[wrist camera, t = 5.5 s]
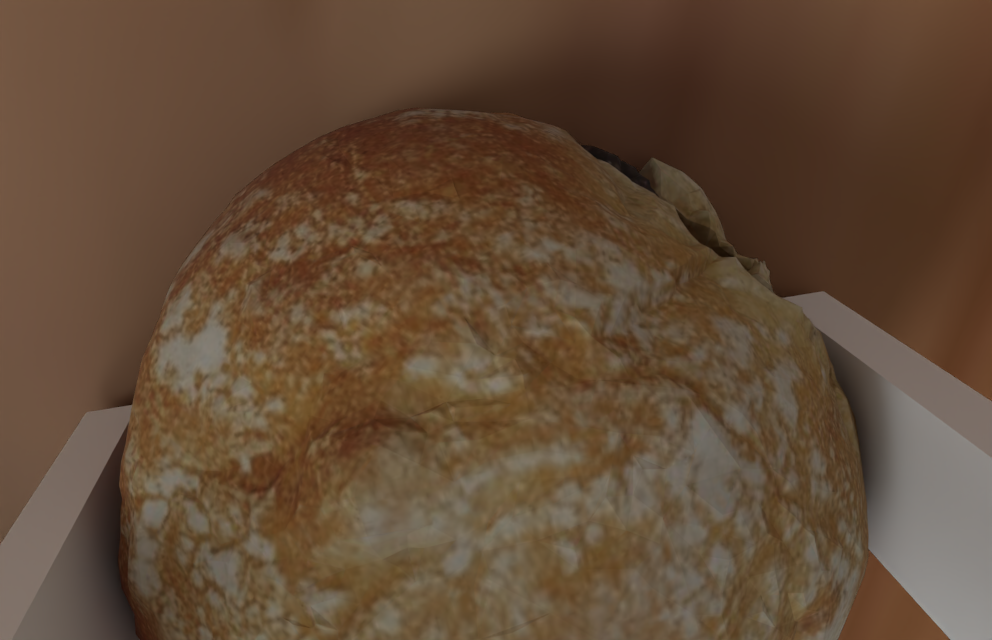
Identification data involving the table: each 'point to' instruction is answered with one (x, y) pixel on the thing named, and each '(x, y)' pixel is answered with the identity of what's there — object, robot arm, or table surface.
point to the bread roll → (484, 408)
